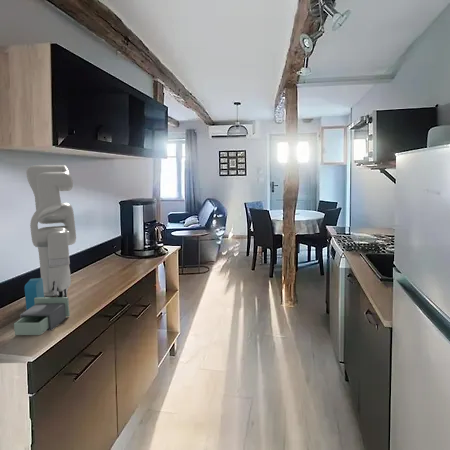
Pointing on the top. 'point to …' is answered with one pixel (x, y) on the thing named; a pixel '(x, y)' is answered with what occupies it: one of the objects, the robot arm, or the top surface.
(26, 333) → the tray
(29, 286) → the data package
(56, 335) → the top surface
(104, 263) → the top surface
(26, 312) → the mailer sleeve
